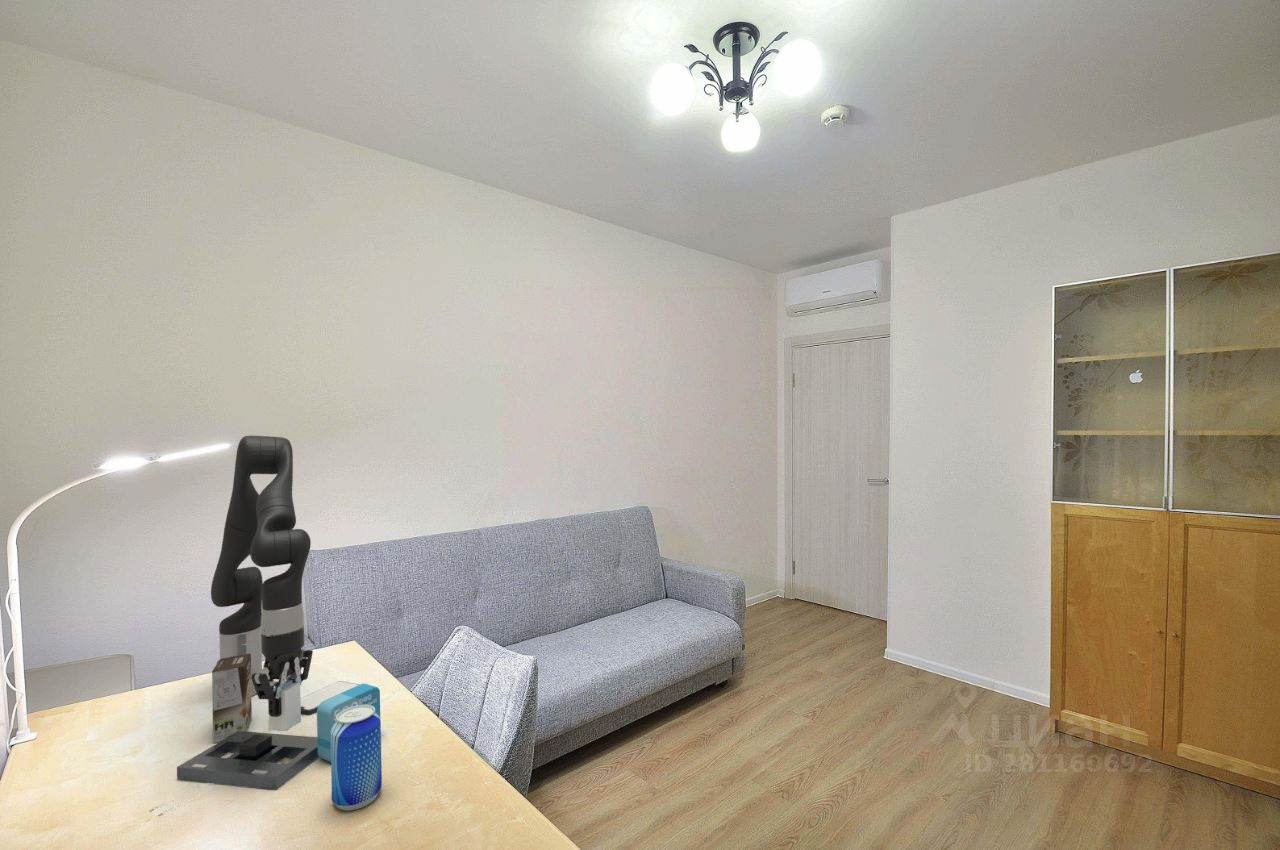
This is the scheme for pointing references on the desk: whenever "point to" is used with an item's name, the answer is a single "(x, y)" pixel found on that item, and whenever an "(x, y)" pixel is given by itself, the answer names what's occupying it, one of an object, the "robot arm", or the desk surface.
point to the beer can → (356, 757)
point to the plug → (287, 708)
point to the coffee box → (231, 696)
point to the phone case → (323, 696)
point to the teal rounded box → (335, 705)
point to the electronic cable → (175, 806)
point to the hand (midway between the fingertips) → (284, 710)
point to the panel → (251, 760)
